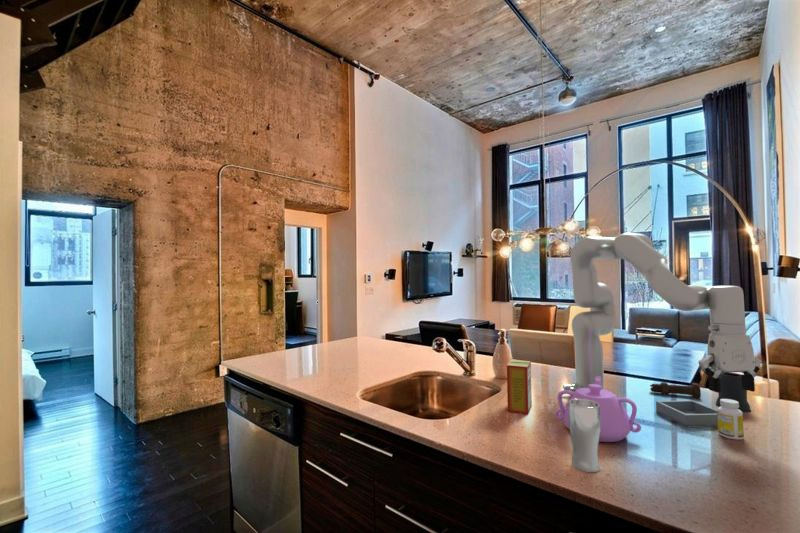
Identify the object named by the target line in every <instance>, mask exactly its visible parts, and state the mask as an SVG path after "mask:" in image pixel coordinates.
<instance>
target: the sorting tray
mask: <svg viewBox="0 0 800 533" xmlns="http://www.w3.org/2000/svg"><path fill="white" fill-rule="evenodd" d="M655 409H656V410H655V412H656V413H657V414H659V415H661V414H662V416H663V415H664V417H665V418H667V417H668V418H667V419H669V418H670V419H669V420H671V419H672V421H673V420H674V421H673V422H675V421H676V422H675V423H677V424H680V425H681V426H683V427H685V428H699V427H701V428H702V427H703V428H704V427H718V414H717V409H715V408H712V407H710V406H708V405H705V404H703V403H700V402H698V401H696V400H693V399H692V400H658V401H657V400H656V401H655Z"/></svg>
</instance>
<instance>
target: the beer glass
mask: <svg viewBox="0 0 800 533" xmlns="http://www.w3.org/2000/svg"><path fill="white" fill-rule="evenodd" d="M568 401H569V400H568ZM569 427H570V429H569V433H570V437H571V442H572V449H573V450H572V458H571V465H572V467H573V468H575V469H576V470H578V471H580V472H585V473H591V474H592V473H597V472H599V471H600V470H601V466H600V460H599V455H598V454H599V450H598V449H599V445H600V444H599V443H600V441H599V439H600V432H601V416H600V407H599V404H598V403H597V402H595V401H592V400H587V399H571V400H570V401H569Z"/></svg>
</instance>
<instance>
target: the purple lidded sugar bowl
mask: <svg viewBox="0 0 800 533" xmlns="http://www.w3.org/2000/svg"><path fill="white" fill-rule="evenodd" d="M588 386H589V388H580V389H577V390H576V391H575V392H572V391H570V390H564V389H563V390H560V392H558V394H557V403H558V406H559V408H558V409H556V410H555V412H554V415H555V418H557V419H558V420H561V421H563V422H564V424H565V426H567V428H568V429H569V430H570V427H569V401H570V400H571V399H587V400H592V401H595V402H597V403H598V404H599V407H600V416H601V432H600V439H599V443H615V442H620V441H622V440H623V439H625V438H626V437H627V436H629V434H630V432H632V433H635V434H636V433H639V432H641V430H642V425H641V424H640V423H639V422H637V421H635V420H636V416H637V411H638V408H637V405H636V403H635V402H634V401H633V400H632V399H631V398H629V397H628V398H627V397H624V396H623V397H618V396H617V395H616V394H615V393H614V392H612V391H609V390H607V389H604V390H603V389H602V386H601V377H600V376H597V377H596V378H595V382H594V384H590V385H588ZM563 395H570V397H569V399H568V401H567V403H566V405H565V406H564V403H563V398H562V397H563ZM623 402H624V403H627V404H629V405H630V406H631V408H632V410H631V414H630V417H629V416H628V412H627V410H626V409H625V407H624V405H623V404H622V403H623ZM560 414H561V415H560ZM634 426H636V427H634Z"/></svg>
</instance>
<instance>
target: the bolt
mask: <svg viewBox="0 0 800 533" xmlns="http://www.w3.org/2000/svg"><path fill="white" fill-rule="evenodd" d="M649 386H650V388H649V389H650V392H652V393H659V394H660V393H661V394H662V395H664V396H670V394H674V395H675V394H676V395H677V394H678V395H687V396H692V397H693V398H695V399H701V396H702V391H701V387H700V385H699V383H697V382H691V385H681V384H679V385H678V384H668V383H667V382H664V381H661V382H660V384H659V383H652V384H650V385H649Z"/></svg>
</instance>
